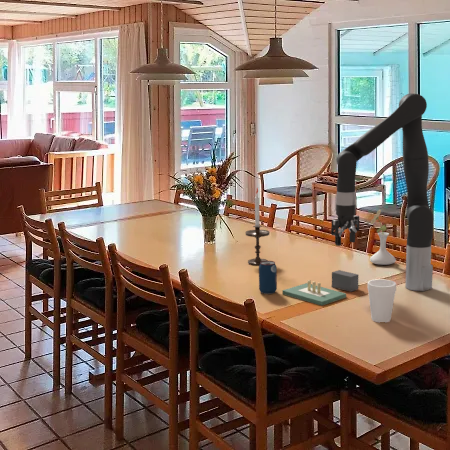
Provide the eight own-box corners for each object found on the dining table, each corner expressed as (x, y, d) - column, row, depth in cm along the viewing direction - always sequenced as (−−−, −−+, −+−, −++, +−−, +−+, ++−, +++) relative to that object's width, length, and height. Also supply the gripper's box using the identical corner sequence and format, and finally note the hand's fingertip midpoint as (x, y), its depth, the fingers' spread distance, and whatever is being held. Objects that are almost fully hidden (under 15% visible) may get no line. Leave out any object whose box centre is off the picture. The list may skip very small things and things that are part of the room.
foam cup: (361, 319, 232) (362, 283, 229) (376, 313, 238) (377, 277, 236) (385, 326, 225) (386, 288, 223) (400, 319, 232) (401, 282, 229)
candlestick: (258, 258, 317) (257, 184, 310) (274, 262, 309) (273, 186, 302) (241, 262, 310) (239, 187, 303) (257, 267, 302) (256, 189, 295)
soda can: (280, 292, 264) (280, 263, 262) (265, 295, 261) (264, 265, 259) (270, 288, 270) (270, 259, 268) (255, 291, 267) (255, 261, 265)
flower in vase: (380, 259, 311) (381, 205, 306) (400, 263, 302) (402, 208, 297) (362, 264, 303) (362, 209, 298) (382, 269, 294) (384, 212, 289)
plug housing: (358, 289, 266) (358, 274, 265) (350, 291, 263) (351, 276, 262) (339, 284, 273) (339, 270, 272) (331, 286, 270) (331, 272, 269)
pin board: (346, 297, 257) (346, 283, 256) (321, 305, 248) (321, 291, 247) (306, 286, 272) (306, 273, 270) (282, 294, 263) (282, 280, 261)
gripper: (341, 206, 254) (341, 248, 258) (365, 201, 263) (364, 242, 267) (326, 204, 260) (325, 245, 263) (349, 199, 269) (349, 239, 272)
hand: (345, 243), depth 265 cm, fingers open, 8 cm apart
